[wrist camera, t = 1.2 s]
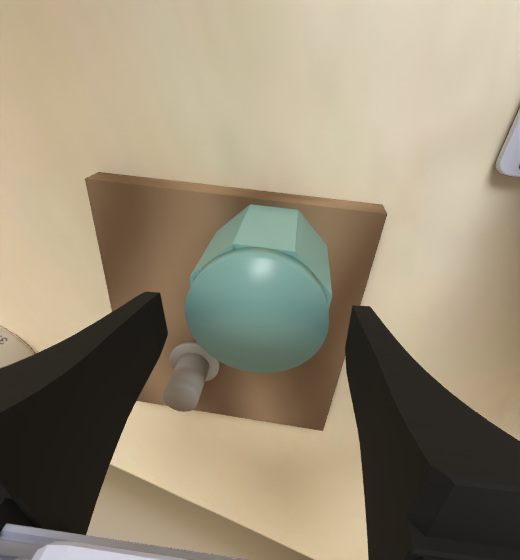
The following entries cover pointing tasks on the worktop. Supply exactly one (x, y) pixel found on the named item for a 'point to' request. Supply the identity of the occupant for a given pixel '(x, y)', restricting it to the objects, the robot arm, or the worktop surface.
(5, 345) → the supplement can
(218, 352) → the cap
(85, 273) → the worktop surface
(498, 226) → the worktop surface
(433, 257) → the worktop surface
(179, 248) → the stud board
